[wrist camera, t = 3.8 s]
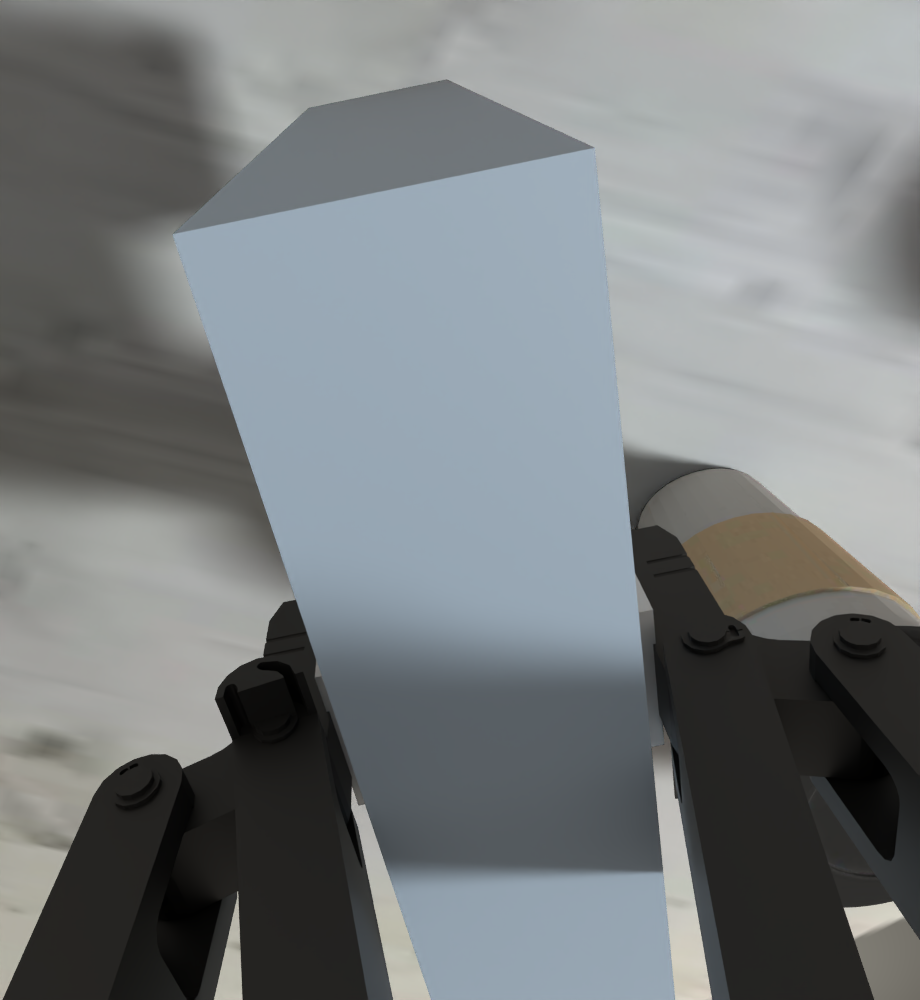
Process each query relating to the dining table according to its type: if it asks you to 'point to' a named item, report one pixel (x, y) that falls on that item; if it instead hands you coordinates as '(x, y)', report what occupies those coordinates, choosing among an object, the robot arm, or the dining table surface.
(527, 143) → the light blue slab
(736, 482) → the coffee cup
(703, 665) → the robot arm
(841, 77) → the dining table surface
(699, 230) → the dining table surface
